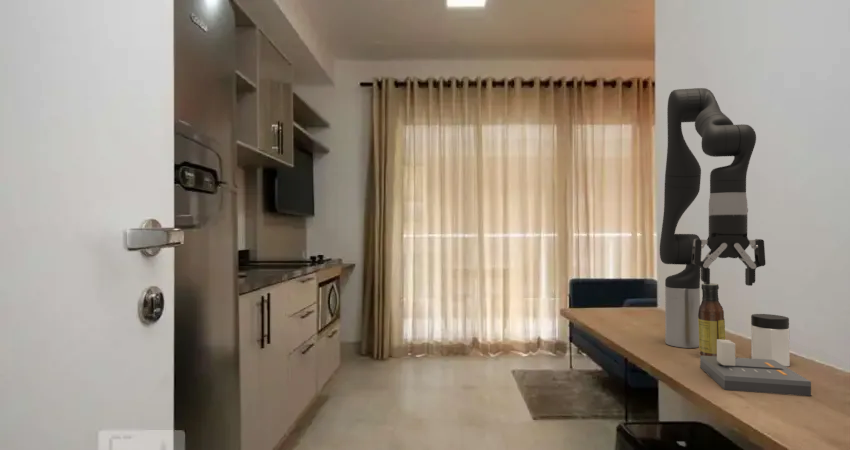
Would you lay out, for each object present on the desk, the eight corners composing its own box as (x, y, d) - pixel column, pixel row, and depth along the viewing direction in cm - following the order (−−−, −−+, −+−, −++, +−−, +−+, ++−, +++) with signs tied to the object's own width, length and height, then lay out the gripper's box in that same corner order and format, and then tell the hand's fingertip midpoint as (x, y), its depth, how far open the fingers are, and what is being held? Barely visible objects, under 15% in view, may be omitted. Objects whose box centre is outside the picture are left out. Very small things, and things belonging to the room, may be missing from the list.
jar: (797, 364, 127) (797, 317, 127) (781, 368, 123) (780, 320, 123) (759, 356, 135) (759, 312, 135) (743, 360, 131) (743, 315, 131)
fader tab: (716, 366, 117) (716, 339, 117) (729, 366, 116) (729, 339, 116) (722, 370, 113) (722, 342, 113) (735, 371, 112) (735, 343, 112)
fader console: (700, 367, 124) (700, 354, 124) (773, 372, 120) (773, 359, 120) (724, 389, 107) (724, 375, 107) (811, 396, 103) (811, 381, 103)
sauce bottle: (719, 354, 137) (718, 282, 137) (730, 360, 131) (730, 285, 131) (694, 354, 138) (693, 282, 138) (704, 359, 131) (704, 284, 132)
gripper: (756, 213, 114) (756, 283, 114) (688, 213, 118) (688, 281, 118) (770, 212, 107) (770, 288, 107) (697, 213, 111) (697, 285, 111)
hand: (727, 284), depth 113 cm, fingers open, 8 cm apart
